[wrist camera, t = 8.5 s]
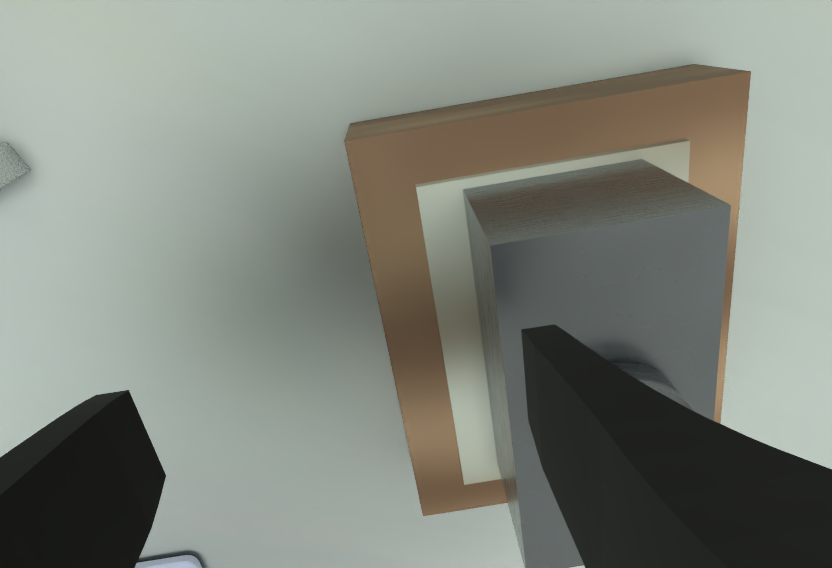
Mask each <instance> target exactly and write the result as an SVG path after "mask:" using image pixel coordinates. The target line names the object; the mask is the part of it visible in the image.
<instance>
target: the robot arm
mask: <svg viewBox="0 0 832 568" xmlns="http://www.w3.org/2000/svg"><path fill="white" fill-rule="evenodd" d="M521 334H522V347H523V360H524V373H525V385H526V398H527V411H528V421H529V425H530V428H531V432H532V435H533V439H534V442H535V446H536V449H537V452H538V456H539V459H540V462H541V465H542V469H543V471H544V473H545V476H546V478H547V480H548V483H549V485H550V487H551V490H552V492H553V494H554V497H555V499H556V501H557V504H558V506H559V508H560V511H561V513H562V515H563V517H564V520H565V522H566V524H567V527H568V529H569V531H570V533H571V536H572V538H573V540H574V543H575V545H576V547H577V550H578V552H579V554H580V556H581V559H582V561H583V563H584V566H585V568H832V469H829V468H826V467H823V466H821V465H818V464H816V463H813V462H810V461H808V460H805V459H802V458H800V457H797V456H795V455H792V454H789V453H787V452H784V451H781V450H779V449H776V448H774V447H771V446H769V445H766V444H764V443H762V442H759V441H757V440H754V439H752V438H750V437H747V436H745V435H743V434H741V433H739V432H737V431H734V430H732V429H730V428H728V427H726V426H724V425H721V424H719V423H717V422H715V421H713V420H711V419H709V418H706V417H704V416H702V415H700V414H698V413H696V412H694V411H692V410H690V409H689V408H687V407H685V406H683V405H681V404H679V403H677V402H676V401H674V400H672V399H670V398H669V397H667V396H665V395H663V394H661V393H660V392H658V391H656V390H654V389H652V388H651V387H649V386H647V385H646V384H644V383H642V382H641V381H639V380H637V379H636V378H634V377H633V376H631V375H629V374H628V373H626V372H625V371H623V370H621V369H620V368H618V367H617V366H615V365H614V364H612V363H611V362H609V361H608V360H606V359H605V358H603V357H602V356H600V355H599V354H597V353H596V352H594V351H593V350H591V349H590V348H589V347H587V346H586V345H584V344H583V343H581V342H580V341H578V340H577V339H576V338H574V337H573V336H571V335H570V334H569V333H567V332H566V331H564V330H563V329H561V328H560V327H558V326H557V325H555V324H553V325H547V326H540V327H534V328H527V329H521ZM165 477H166V475H165V472H164V470H163V468H162V466H161V463H160V461H159V459H158V456H157V454H156V452H155V449H154V447H153V445H152V443H151V440H150V438H149V436H148V433H147V431H146V429H145V427H144V424H143V422H142V420H141V417H140V415H139V413H138V410H137V408H136V406H135V404H134V401H133V399H132V397H131V394H130V392H129V390H126V391H120V392H113V393H107V394H101V395H95V396H94V397H92V398H90V399H88V400H86V401H84V402H83V403H81V404H79V405H78V406H76V407H74V408H73V409H71V410H70V411H68V412H66V413H65V414H63V415H62V416H60V417H59V418H57V419H56V420H54V421H53V422H51V423H50V424H48V425H47V426H45V427H44V428H42V429H41V430H39V431H38V432H37V433H35V434H34V435H32V436H31V437H29V438H28V439H26V440H25V441H24V442H22V443H21V444H19V445H18V446H16V447H15V448H13V449H12V450H10V451H9V452H8V453H6V454H5V455H3V456H2V457H0V568H202V566H201V564H200V562H199V561H198V559H197V558H196V557H194V556H191V555H183V556H176V557H170V558H164V559H158V560H151V561H145V562H139V563H137V561H138V559H139V556H140V554H141V552H142V549H143V547H144V545H145V542H146V540H147V538H148V535H149V533H150V530H151V528H152V524H153V521H154V518H155V514H156V511H157V508H158V504H159V501H160V497H161V493H162V489H163V485H164V481H165Z"/></svg>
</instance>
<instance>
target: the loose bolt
mask: <svg viewBox="0 0 832 568" xmlns="http://www.w3.org/2000/svg"><path fill="white" fill-rule="evenodd" d="M29 170H30V169H29V167H28V166H27V165H26V164H25V163H24V162H23V160H22V159H21V158H20V157H19V156H18V155H17V154H16V152H15V151H14V150H13V149H12V148H11V147H10V145H9V144H8V143H7V142H6V143H2V144H0V189H1V188H3V187H5V186H6V185H8V184H9V183H11V182H12V181H14V180H15V179H17V178H18V177H20V176H22V175H23V174H25V173H26V172H28V171H29Z"/></svg>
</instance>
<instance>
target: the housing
mask: <svg viewBox="0 0 832 568" xmlns="http://www.w3.org/2000/svg"><path fill="white" fill-rule="evenodd" d="M463 195H464V203H465V211H466V219H467V227H468V235H469V242H470V250H471V258H472V266H473V274H474V282H475V290H476V298H477V306H478V313H479V321H480V329H481V337H482V345H483V353H484V361H485V369H486V377H487V385H488V392H489V400H490V408H491V416H492V424H493V432H494V440H495V448H496V456H497V463H498V467H499V471H500V475H501V479H502V483H503V487H504V490H505V494H506V498H507V502H508V506H509V509H510V513H511V517H512V521H513V525H514V529H515V532H516V536H517V540H518V544H519V548H520V551H521V555H522V559H523V563H524V567H525V568H569V567H575V566H582V565H584V563H583V561H582V559H581V556H580V554H579V552H578V550H577V547H576V545H575V543H574V540H573V538H572V536H571V533H570V531H569V529H568V527H567V524H566V522H565V520H564V517H563V515H562V513H561V511H560V508H559V506H558V504H557V501H556V499H555V497H554V494H553V492H552V490H551V487H550V485H549V483H548V480H547V478H546V476H545V473H544V471H543V469H542V465H541V462H540V459H539V456H538V452H537V449H536V446H535V442H534V439H533V435H532V432H531V428H530V425H529V421H528V411H527V398H526V385H525V373H524V360H523V347H522V334H521V329H527V328H534V327H540V326H547V325H553V324H555V325H557V326H558V327H560V328H561V329H563V330H564V331H566V332H567V333H569V334H570V335H571V336H573V337H574V338H576V339H577V340H578V341H580V342H581V343H583V344H584V345H586V346H587V347H589V348H590V349H591V350H593V351H594V352H596V353H597V354H599V355H600V356H602V357H603V358H605V359H606V360H608V361H609V362H611V363H612V364H614V365H615V366H617V367H618V368H620V369H621V370H623V371H625V372H626V373H628V374H629V375H631V376H633V377H634V378H636V379H637V380H639V381H641V382H642V383H644V384H646V385H647V386H649V387H651V388H652V389H654V390H656V391H658V392H660V393H661V394H663V395H665V396H667V397H669V398H670V399H672V400H674V401H676V402H677V403H679V404H681V405H683V406H685V407H687V408H689V409H690V410H692V411H694V412H696V413H698V414H700V415H702V416H704V417H706V418H709V419H711V420H713V421H714V411H715V399H716V386H717V374H718V362H719V349H720V337H721V324H722V312H723V299H724V287H725V274H726V262H727V249H728V237H729V225H730V212H731V205H730V204H728V203H726V202H724V201H722V200H720V199H718V198H717V197H715V196H713V195H711V194H709V193H707V192H705V191H703V190H701V189H699V188H697V187H695V186H693V185H691V184H689V183H688V182H686V181H684V180H682V179H680V178H678V177H676V176H674V175H672V174H670V173H668V172H666V171H664V170H662V169H661V168H659V167H657V166H655V165H653V164H651V163H649V162H647V161H645V160H643V159H638V160H632V161H626V162H620V163H614V164H608V165H603V166H597V167H591V168H585V169H579V170H573V171H567V172H561V173H555V174H550V175H544V176H538V177H532V178H526V179H520V180H514V181H508V182H502V183H497V184H491V185H485V186H479V187H473V188H467V189H463Z"/></svg>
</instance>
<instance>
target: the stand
mask: <svg viewBox="0 0 832 568" xmlns="http://www.w3.org/2000/svg"><path fill="white" fill-rule="evenodd" d="M750 76H751V71H743V70H736V69H728V68H720V67H712V66H704V65H697V64H693V65H687V66H681V67H676V68H670V69H664V70H658V71H652V72H647V73H641V74H635V75H629V76H623V77H618V78H612V79H606V80H600V81H594V82H589V83H583V84H577V85H571V86H565V87H560V88H554V89H548V90H542V91H536V92H531V93H525V94H519V95H513V96H507V97H502V98H496V99H490V100H484V101H478V102H473V103H467V104H461V105H455V106H449V107H444V108H438V109H432V110H426V111H420V112H415V113H409V114H403V115H397V116H391V117H386V118H380V119H374V120H368V121H362V122H357V123H351V124H350V126H349V129H348V132H347V135H346V138H345V146H346V151H347V155H348V160H349V165H350V170H351V174H352V179H353V184H354V189H355V193H356V198H357V203H358V208H359V213H360V217H361V222H362V227H363V232H364V236H365V241H366V246H367V251H368V255H369V260H370V265H371V270H372V275H373V279H374V284H375V289H376V294H377V298H378V303H379V308H380V313H381V317H382V322H383V327H384V332H385V337H386V341H387V346H388V351H389V356H390V360H391V365H392V370H393V375H394V379H395V384H396V389H397V394H398V399H399V403H400V408H401V413H402V418H403V422H404V427H405V432H406V437H407V441H408V446H409V451H410V456H411V461H412V465H413V470H414V475H415V480H416V484H417V489H418V494H419V499H420V504H421V508H422V513H423V516H427V515H433V514H440V513H446V512H452V511H458V510H465V509H471V508H477V507H483V506H490V505H496V504H502V503H508V502H507V498H506V494H505V490H504V487H503V483H502V479H501V475H500V471H499V467H498V463H497V456H496V448H495V440H494V432H493V424H492V416H491V408H490V400H489V392H488V385H487V377H486V369H485V361H484V353H483V345H482V337H481V329H480V321H479V313H478V306H477V298H476V290H475V282H474V274H473V266H472V258H471V250H470V242H469V235H468V227H467V219H466V211H465V203H464V195H463V189H467V188H473V187H479V186H485V185H491V184H497V183H502V182H508V181H514V180H520V179H526V178H532V177H538V176H544V175H550V174H555V173H561V172H567V171H573V170H579V169H585V168H591V167H597V166H603V165H608V164H614V163H620V162H626V161H632V160H638V159H643V160H645V161H647V162H649V163H651V164H653V165H655V166H657V167H659V168H661V169H662V170H664V171H666V172H668V173H670V174H672V175H674V176H676V177H678V178H680V179H682V180H684V181H686V182H688V183H689V184H691V185H693V186H695V187H697V188H699V189H701V190H703V191H705V192H707V193H709V194H711V195H713V196H715V197H717V198H718V199H720V200H722V201H724V202H726V203H728V204H730V205H731V212H730V225H729V237H728V249H727V262H726V274H725V287H724V299H723V312H722V324H721V337H720V349H719V362H718V374H717V386H716V399H715V411H714V421H715V422H717V423H719V424H720V421H721V410H722V398H723V387H724V375H725V364H726V352H727V341H728V329H729V318H730V306H731V294H732V283H733V271H734V260H735V248H736V237H737V225H738V214H739V202H740V191H741V179H742V168H743V156H744V145H745V133H746V122H747V110H748V99H749V87H750Z"/></svg>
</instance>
